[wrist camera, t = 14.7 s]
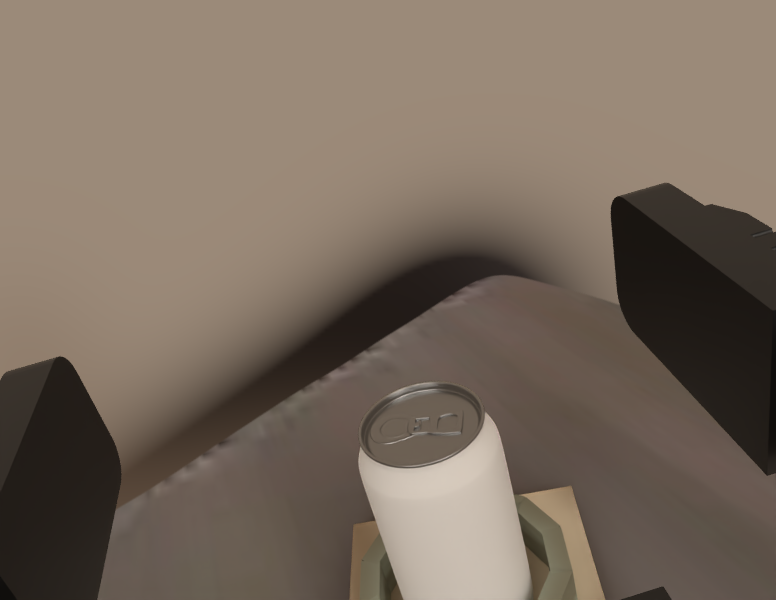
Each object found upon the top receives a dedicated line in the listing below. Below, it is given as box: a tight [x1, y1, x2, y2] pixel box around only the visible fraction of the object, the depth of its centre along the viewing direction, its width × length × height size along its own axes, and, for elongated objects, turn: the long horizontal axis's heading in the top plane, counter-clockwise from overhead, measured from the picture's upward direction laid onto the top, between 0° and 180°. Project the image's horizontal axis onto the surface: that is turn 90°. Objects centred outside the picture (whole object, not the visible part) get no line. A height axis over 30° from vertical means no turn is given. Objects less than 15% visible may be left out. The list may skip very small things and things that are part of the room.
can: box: [358, 381, 533, 600], centre depth 35 cm, size 6×6×12 cm
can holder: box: [349, 486, 605, 600], centre depth 38 cm, size 13×13×4 cm
